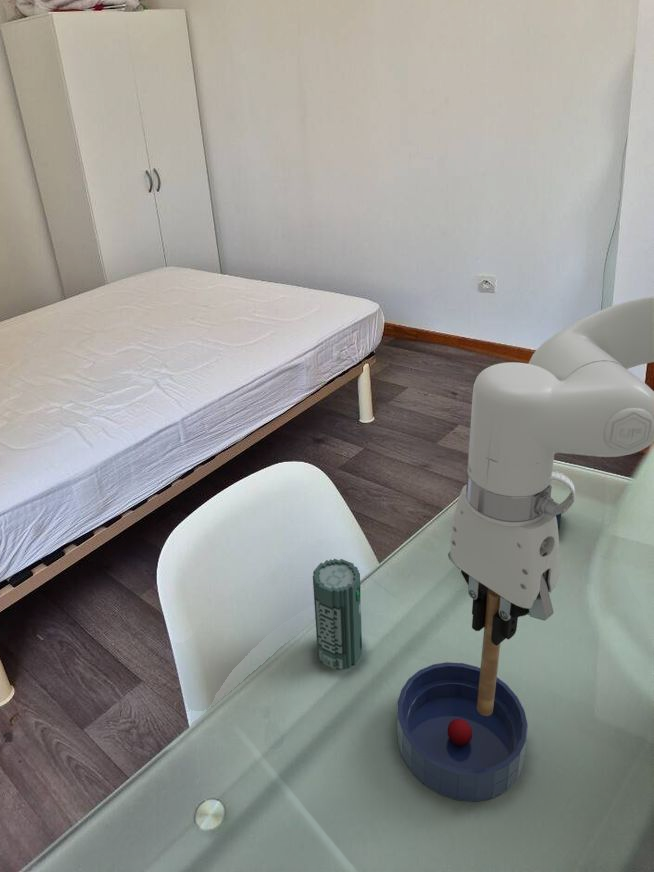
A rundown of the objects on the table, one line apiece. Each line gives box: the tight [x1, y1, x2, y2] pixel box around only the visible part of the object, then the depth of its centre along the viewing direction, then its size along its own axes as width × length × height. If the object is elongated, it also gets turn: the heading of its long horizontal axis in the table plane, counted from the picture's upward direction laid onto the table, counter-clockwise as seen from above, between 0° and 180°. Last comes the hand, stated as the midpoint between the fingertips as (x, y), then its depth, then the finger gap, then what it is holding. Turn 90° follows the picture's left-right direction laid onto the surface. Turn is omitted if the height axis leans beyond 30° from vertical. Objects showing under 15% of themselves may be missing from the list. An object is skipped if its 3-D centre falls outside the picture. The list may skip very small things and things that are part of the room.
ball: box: [447, 719, 472, 746], centre depth 85 cm, size 3×3×3 cm
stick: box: [477, 588, 501, 716], centre depth 75 cm, size 2×2×18 cm
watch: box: [551, 469, 576, 535], centre depth 119 cm, size 6×8×11 cm
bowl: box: [396, 661, 529, 803], centre depth 85 cm, size 15×15×6 cm
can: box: [312, 558, 363, 671], centre depth 96 cm, size 6×6×15 cm
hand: (492, 629), depth 74 cm, fingers closed on stick, 1 cm apart
